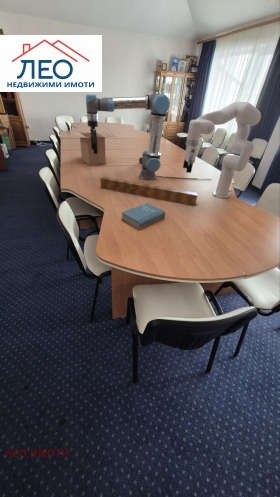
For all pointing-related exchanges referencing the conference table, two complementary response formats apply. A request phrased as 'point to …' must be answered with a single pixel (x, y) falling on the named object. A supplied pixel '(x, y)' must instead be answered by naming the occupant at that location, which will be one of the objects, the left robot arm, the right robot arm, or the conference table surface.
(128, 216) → the book
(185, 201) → the bar
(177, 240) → the conference table surface
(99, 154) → the box
